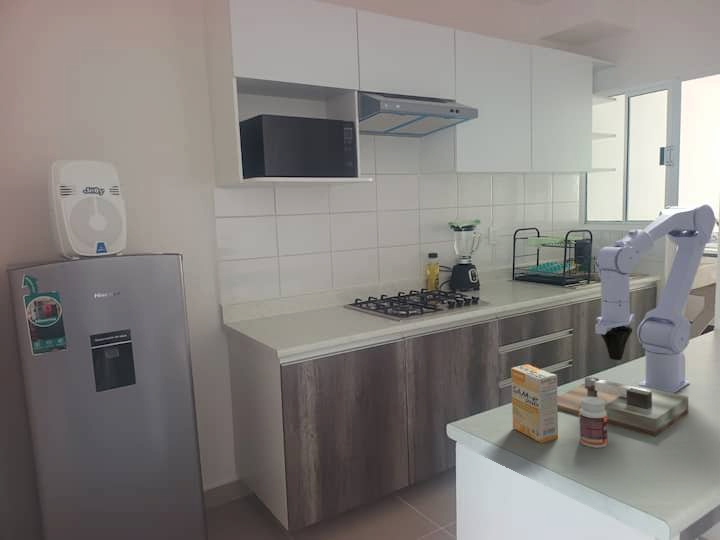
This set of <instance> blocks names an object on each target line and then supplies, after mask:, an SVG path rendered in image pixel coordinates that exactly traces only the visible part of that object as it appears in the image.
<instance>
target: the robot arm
mask: <svg viewBox="0 0 720 540" xmlns="http://www.w3.org/2000/svg"><path fill="white" fill-rule="evenodd" d="M716 222H717V220H716V215H715V212H714V210H713V208H712V206H710V205H709V204H701V205H679V206H678V205H677V206H675V205H667V206H666V207H665V208H663V209H662V210H660V211H659V215H658V217H656V218H655V219H654V220H653V221H652V222H651V223H649V224H648V225H647V226H646V227H645V228H644V229H631V230H629V231H628V234H626V235H625V236H624V237H622V238H621V239H620V240H616V241H615V242H614V244H612V245H611V246H604V247H602V248H600V249H599V250H598V252H597V253H596V256H595V259H594V260H593V262H594V266H595V269H596V270H597V274H598V278H599V280H600V297H601V298H600V307H601V311H600V312H601V316H598V317H596V322H597V323H596V324H595V325H594V328H595V329H594V330H595V332H594V333H595V334H598V335H600V336H601V337H602V338H603V341H604V343H605V345H606V346H605V347H606V349H607V352H608V356H609V358H610V360H613V361H621V360H623V356H624V353H625V348H626V345H627V343H628V340H629V338H630V336H631V334H632V332H633V328H632V327H629V325H631V324H633V323H635V314H634V313H630V312H631V310H630V309H631V306H630V302H631V301H630V273H631V272H633V271H634V269H635V267H636V264H637V262H639V259H640V258H642V257H643V256H645V255H646V254H648V253H650V252H651V250H653V248H654V242H656V241H658V240H659V239H661V238H663V237H665V235H666V236H667V237H668V238H669V240H670V241H671V242H672V243H673V244H675V245H676V246H677V251H676V253H675V256H674V259H673V261H672V265H671V268H670V271H669V273H668V277H667V278H666V283H665V285H664V288H663V290H662V293H661V297H660V300H659V302H658V304H657V305H658V306H657V307H655V308H653V309H651V310H649V311H648V312H646V313H645V315H644V317H643V319H642V321H641V322H640V323H639V325H638V326H637V329H636V335H637V340H638V341H639V342H640V344H642V348H643V349H644V350H645V352H644V353H645V379H644V380H643V381H641V382H639V383H638V386H642V387H647V388H651V389H656V390H661V391H665V392H670V393H675V394H676V392H678V391H680V390H681V389H683V388H684V387H686V386H687V385H689V384H690V380H686V356H685V354H684V351H685V350H686V349H687V347H688V346H689V344H690V339H691V338H690V337H691V336H690V333H691V327H692V323H691V322H690V321H689V319H687V317H686V316H685V315H684V311H685V307H686V306H687V302H688V298H689V296H690V293H691V291H692V287H693V284H694V283H695V278H696V275H697V273H698V271H699V266H700V264H701V261H702V258H703V255H704V252H705V250H706V249H705V248H706V246H707V244H709V242H710V240H711V237H712V234H713V231H714V228H715V225H716Z"/></svg>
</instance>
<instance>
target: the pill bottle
mask: <svg viewBox="0 0 720 540" xmlns="http://www.w3.org/2000/svg"><path fill="white" fill-rule="evenodd" d="M581 407H582V408H581V409H580V411H579V415H578V416H579V441H580V442H581V444H582V445H584V446H586V447H589V448H594V449H595V448H596V449H598V448H604V447H606V446H607V445H608V423H607V412H606V411H605V410H604V409H605V401H604V400H603V399H601V398H597V397H584V398H582V399H581Z"/></svg>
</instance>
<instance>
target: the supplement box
mask: <svg viewBox="0 0 720 540" xmlns="http://www.w3.org/2000/svg"><path fill="white" fill-rule="evenodd" d="M510 371H511V372H510V375H511V377H510V378H511V405H512V406H511V407H512V408H511V409H512V429H514V430H516V431H518V432H520V433H522V434H524V435H526V436H527V437H529V438H532V439H533V440H534V441H536V442H537V443H539V444H543V443H546V442H550V441H554V440H556V439H558V438H559V425H558V424H559V423H558V422H559V420H558V419H559V416H558V415H559V414H558V410H559V409H558V405H557V397H558V374H555V373H553V372H550V371H547V370H544V369H542V368H539V367H536V366H533V365H532V364H528V363H527V364H523V365H519V366H514V367H511V368H510Z"/></svg>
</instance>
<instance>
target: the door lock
mask: <svg viewBox="0 0 720 540" xmlns="http://www.w3.org/2000/svg"><path fill="white" fill-rule="evenodd" d="M636 387H638V388H642V389H647V390H652V392H648V391H643V390H639V389H634V388H630V389H628V390H627V398H626V397H621V396H617V395H613V394H608V393H604V392H600V391H595V390H588V389H586V388H585V383H581V384H580V385H578V386H576V387H574V388H572V389H570V390H568V391H565V392H563V393H562V394H560V395H557V405H558V410H560V411H562V410H564V411H563V412H566V411H567V412H566V413H569V412H571V413H570V414H573V413H575V414H574V415H576V414H579V411H580V409H581V408H582V407H581V399H582V398H584V397H597V398H601V399H603V400H604V401H605V409H604V410H605V411H606V412H607V424H608V423H609V425H613V426H616V427H619V428H623V429H626V428H627V430H631V431H633V430H634V431H633V432H637V433H640V432H641V433H640V434H644V435H648V436H651V437H658V436H659V435H661V434H662V433H663V432H665V430H667V429H668V428H670V427H671V426H672V425H673V424H675V423H676V422H678V421H679V420H681V418H683V417H684V416H685V415H687V414H688V413H689V396H688V395H684V394H679V393H676V392H675V393H671V392H666V391H661V390H657V389H652V388H647V387H642V386H639V385H637V386H636Z"/></svg>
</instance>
